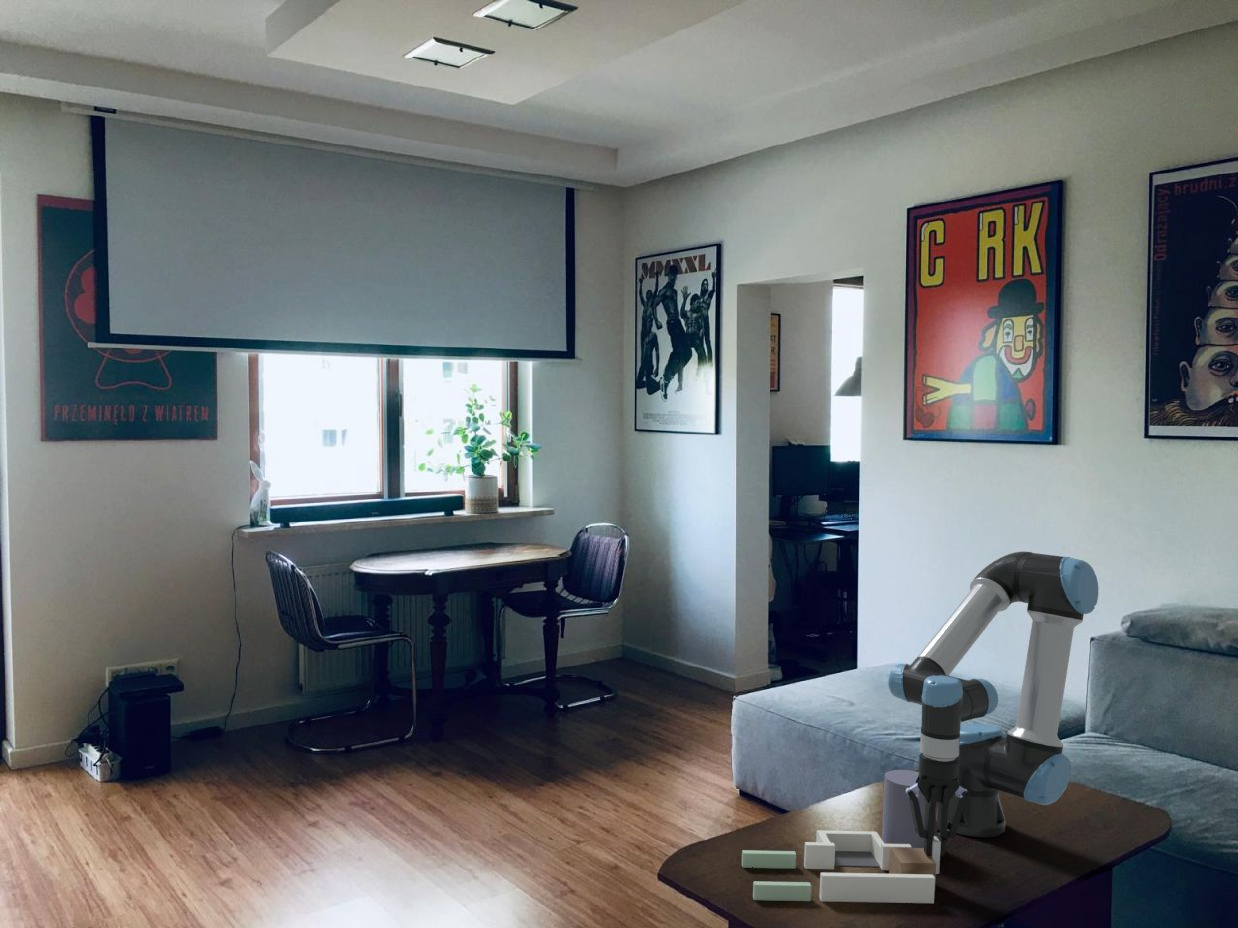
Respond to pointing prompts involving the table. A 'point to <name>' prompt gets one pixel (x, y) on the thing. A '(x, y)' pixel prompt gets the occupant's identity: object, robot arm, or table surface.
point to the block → (911, 862)
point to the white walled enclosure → (863, 886)
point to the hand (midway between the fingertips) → (933, 870)
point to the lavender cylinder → (900, 809)
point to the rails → (776, 889)
